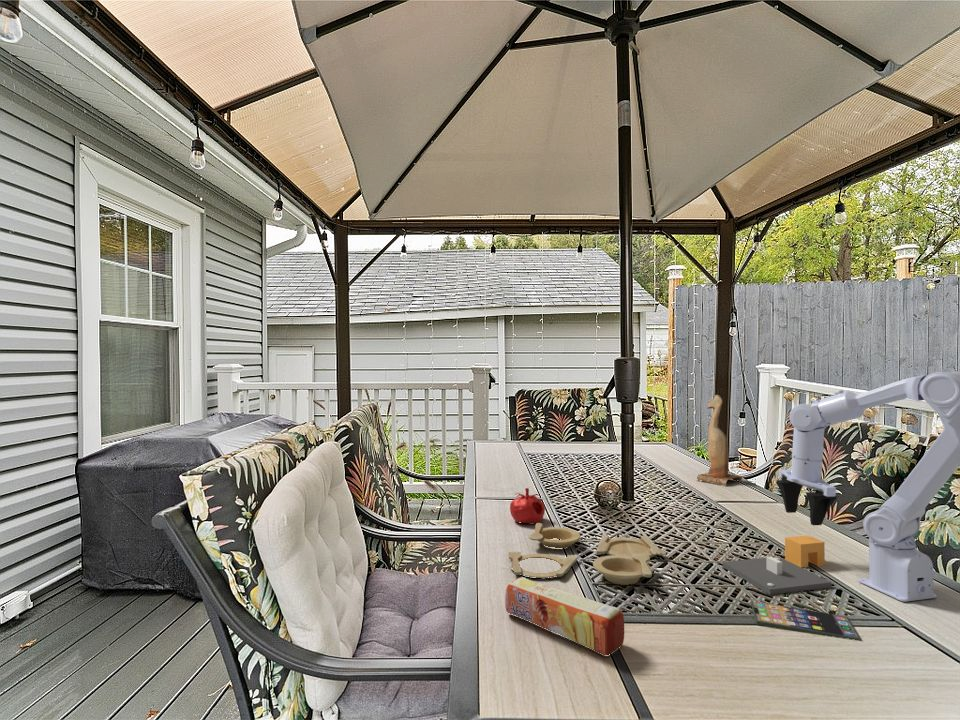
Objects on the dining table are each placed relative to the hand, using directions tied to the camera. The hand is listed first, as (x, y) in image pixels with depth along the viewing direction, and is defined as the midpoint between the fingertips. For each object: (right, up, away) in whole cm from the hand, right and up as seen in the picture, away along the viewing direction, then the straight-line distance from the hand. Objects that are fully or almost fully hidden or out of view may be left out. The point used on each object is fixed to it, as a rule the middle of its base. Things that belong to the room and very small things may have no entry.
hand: (803, 518), depth 117 cm
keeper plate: (-11, -10, -8) cm, 16 cm away
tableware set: (-48, -11, +3) cm, 49 cm away
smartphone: (-16, -11, -26) cm, 32 cm away
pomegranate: (-58, -11, +32) cm, 67 cm away
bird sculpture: (+16, -9, +75) cm, 78 cm away
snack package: (-58, -11, -28) cm, 66 cm away
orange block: (0, -10, 0) cm, 10 cm away
